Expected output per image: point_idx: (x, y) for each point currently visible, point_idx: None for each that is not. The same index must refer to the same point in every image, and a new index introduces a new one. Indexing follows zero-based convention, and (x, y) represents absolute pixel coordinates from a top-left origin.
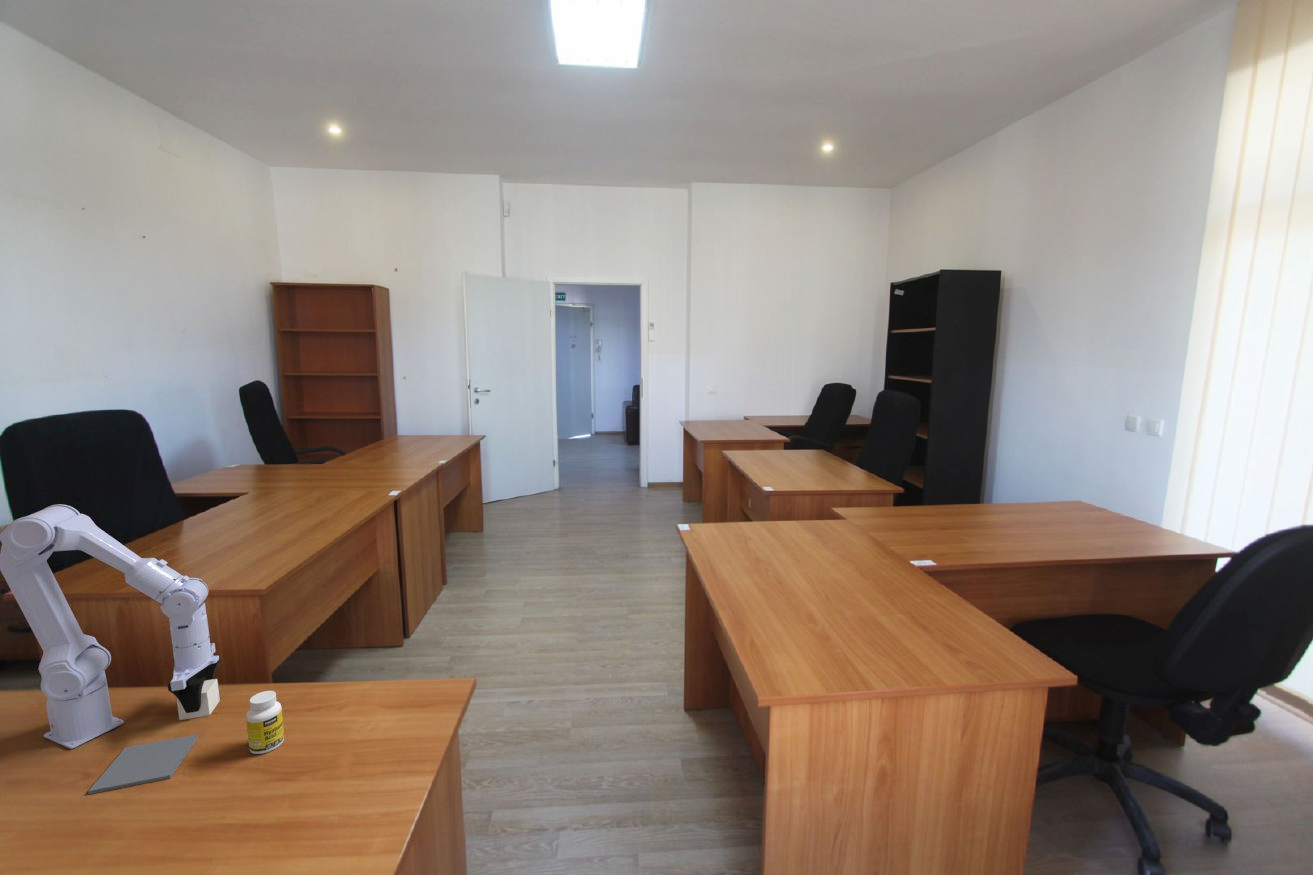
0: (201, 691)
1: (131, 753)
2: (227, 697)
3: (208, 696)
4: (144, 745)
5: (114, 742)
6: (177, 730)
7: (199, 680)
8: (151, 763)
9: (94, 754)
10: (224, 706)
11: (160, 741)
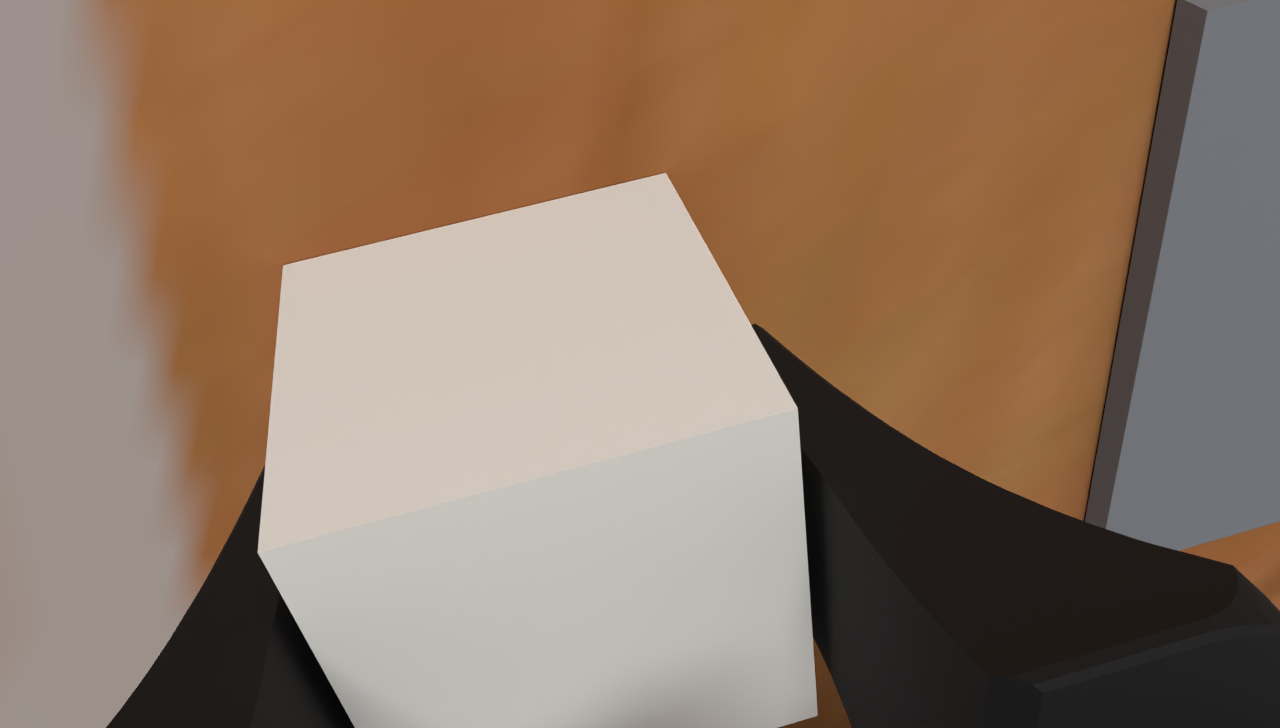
0: (843, 494)
1: (1230, 470)
2: (183, 204)
3: (718, 345)
4: (1145, 453)
5: None
6: (913, 343)
7: (1161, 703)
8: None
9: None
10: (452, 91)
11: (1153, 357)
